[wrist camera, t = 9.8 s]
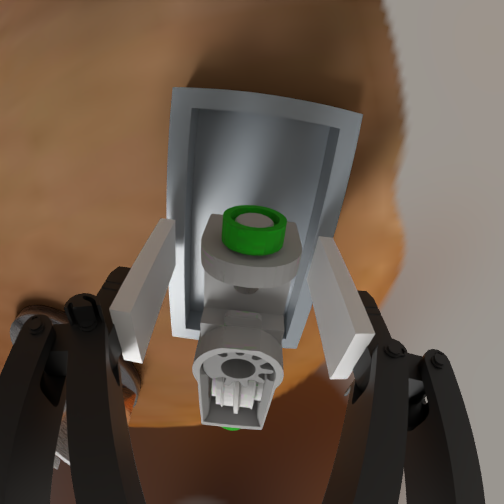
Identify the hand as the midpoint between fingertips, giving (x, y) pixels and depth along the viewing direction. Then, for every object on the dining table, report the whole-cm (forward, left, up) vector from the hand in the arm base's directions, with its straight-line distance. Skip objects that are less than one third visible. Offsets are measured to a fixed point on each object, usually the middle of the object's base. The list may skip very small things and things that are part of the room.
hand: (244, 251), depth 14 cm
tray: (0, 0, -3) cm, 4 cm away
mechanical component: (+1, 0, -3) cm, 3 cm away
